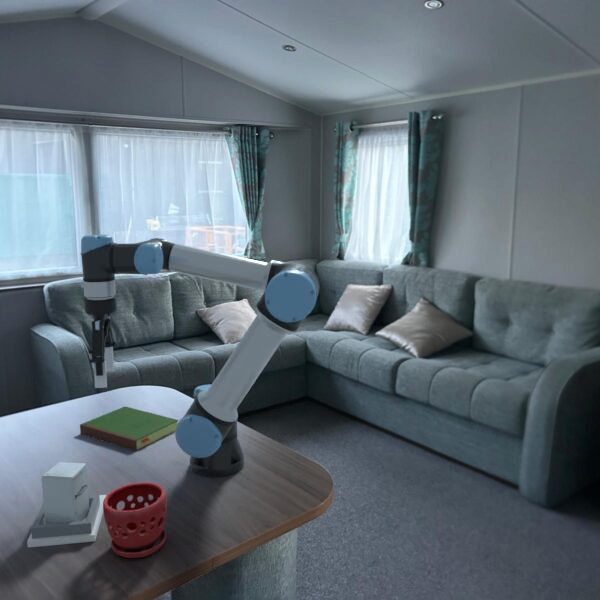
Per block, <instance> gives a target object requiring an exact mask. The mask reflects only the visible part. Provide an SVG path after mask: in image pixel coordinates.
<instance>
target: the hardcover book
mask: <svg viewBox="0 0 600 600" xmlns="http://www.w3.org/2000/svg"><path fill="white" fill-rule="evenodd" d="M178 422H179V419H175V418H172V417H167V416H164V415H161V414H156V413H153V412H148V411H144V410H140V409H137V408H132V407H129V406H123V407H120V408H118V409H115V410H112V411H110V412H108V413H105V414H103V415H100V416H98V417H96V418H92V419H91V420H88V421H85V422H83V423H80V424H79V428H80V435H82V434H83V436H85V435H86V437H88V436H90V437H89V438H92V437H94V438H93V439H95V438H97V439H96V440H98V439H100V440H99V441H101V440H103V441H102V442H105V441H106V442H105V443H108V442H109V443H108V444H111V443H112V445H114V444H115V445H114V446H118V447H121V448H124V449H128V450H131V451H134V452H137V451H138V450H139V449H141V448H144V447H146V446H148V445H150V444H152V443H154V442H156V441H158V440H160V439H162V438H164V437H166V436H167V434H168V435H170V434H172V433H174V432H175V431H176V427H177V424H178ZM171 432H172V433H171ZM169 433H170V434H169ZM165 435H166V436H165ZM163 436H164V437H163ZM161 437H162V438H161ZM159 438H160V439H159ZM157 439H158V440H157Z"/></svg>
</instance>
